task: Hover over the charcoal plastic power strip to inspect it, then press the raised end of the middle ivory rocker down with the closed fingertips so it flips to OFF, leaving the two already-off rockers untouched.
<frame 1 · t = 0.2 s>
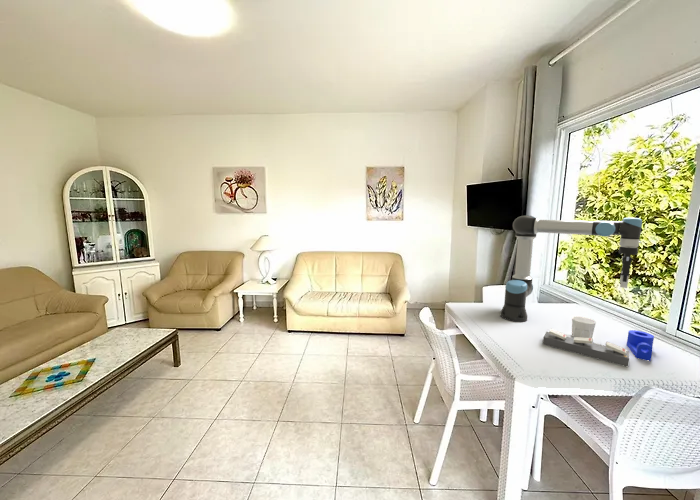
hand: (623, 285, 161), 28 cm above the table, fingers open, 13 cm apart
rocker 3: (615, 347, 135), point 6 cm above the table, hinge at 13.0°
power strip: (582, 351, 143), on the table
rocker 2: (583, 340, 143), point 6 cm above the table, hinge at -13.0°
bracket: (640, 352, 143), on the table
cup: (581, 337, 159), on the table
rocker 1: (557, 334, 150), point 6 cm above the table, hinge at 13.0°
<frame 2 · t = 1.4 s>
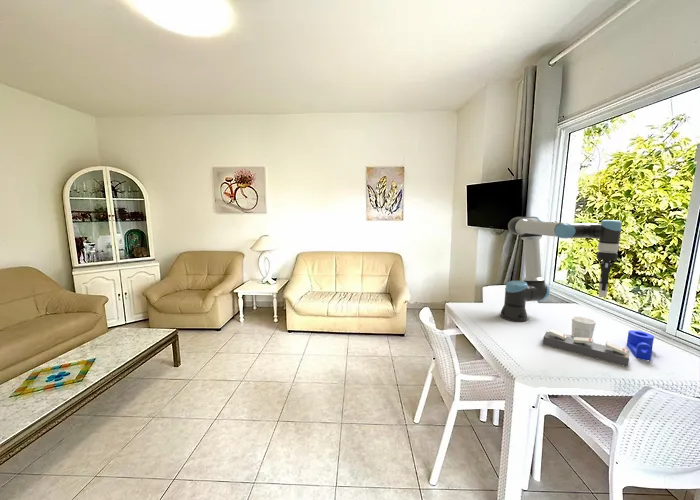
hand: (602, 293, 147), 27 cm above the table, fingers open, 13 cm apart
nothing on the table moved.
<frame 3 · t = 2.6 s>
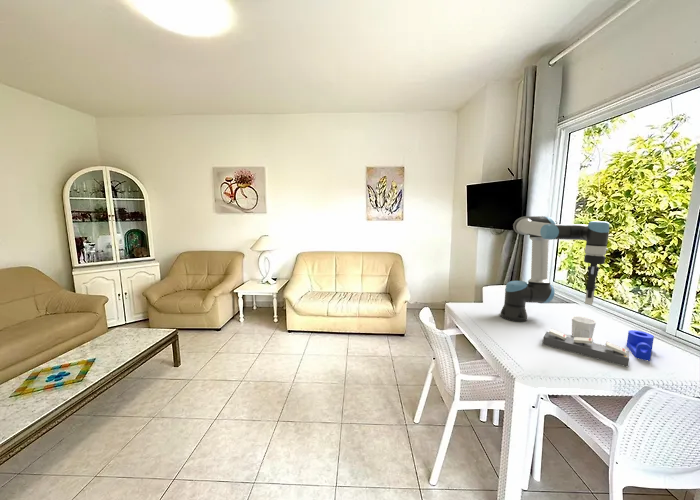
hand: (589, 302, 140), 25 cm above the table, fingers open, 5 cm apart
nothing on the table moved.
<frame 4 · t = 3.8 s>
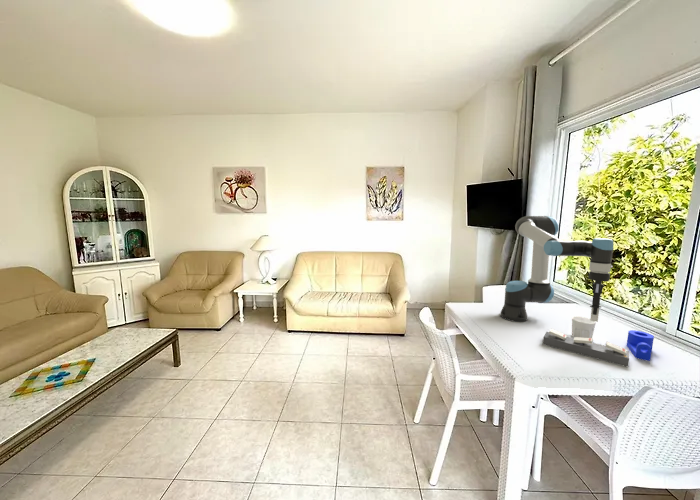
hand: (594, 320, 139), 17 cm above the table, fingers closed
nothing on the table moved.
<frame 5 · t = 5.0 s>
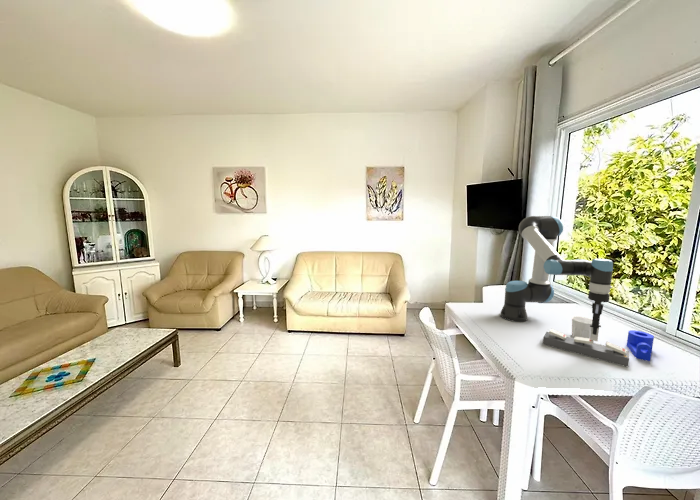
hand: (593, 340, 140), 7 cm above the table, fingers closed
rocker 2: (583, 340, 143), point 6 cm above the table, hinge at -7.0°, touching gripper
everything else where it was.
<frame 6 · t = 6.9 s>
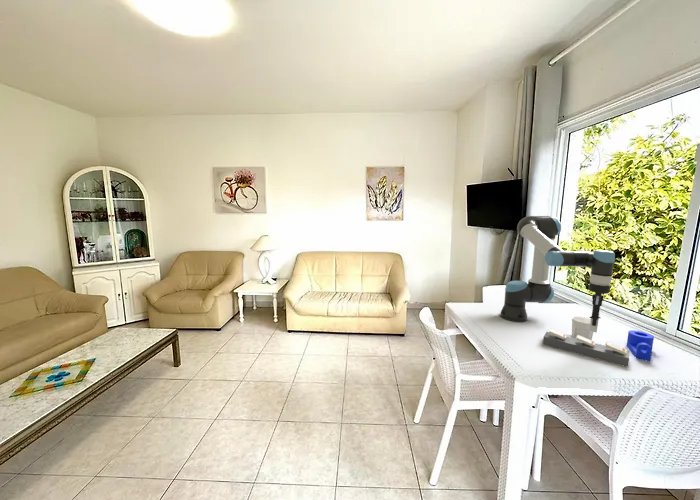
hand: (593, 331, 140), 11 cm above the table, fingers closed
rocker 2: (585, 340, 142), point 6 cm above the table, hinge at 13.2°
everything else where it was.
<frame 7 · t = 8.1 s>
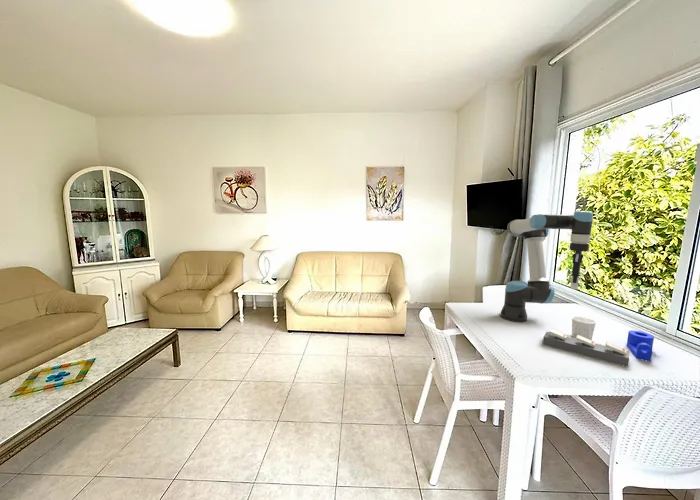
hand: (573, 288, 149), 29 cm above the table, fingers closed
nothing on the table moved.
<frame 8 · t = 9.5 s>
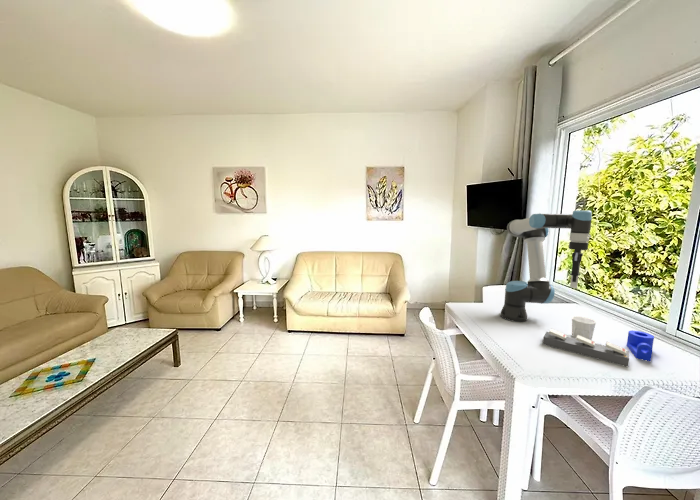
hand: (573, 287, 149), 29 cm above the table, fingers closed
nothing on the table moved.
at the end: rocker 2 at +13° (first picture: -13°); rocker 1 at +13° (first picture: +13°); rocker 3 at +13° (first picture: +13°) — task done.
